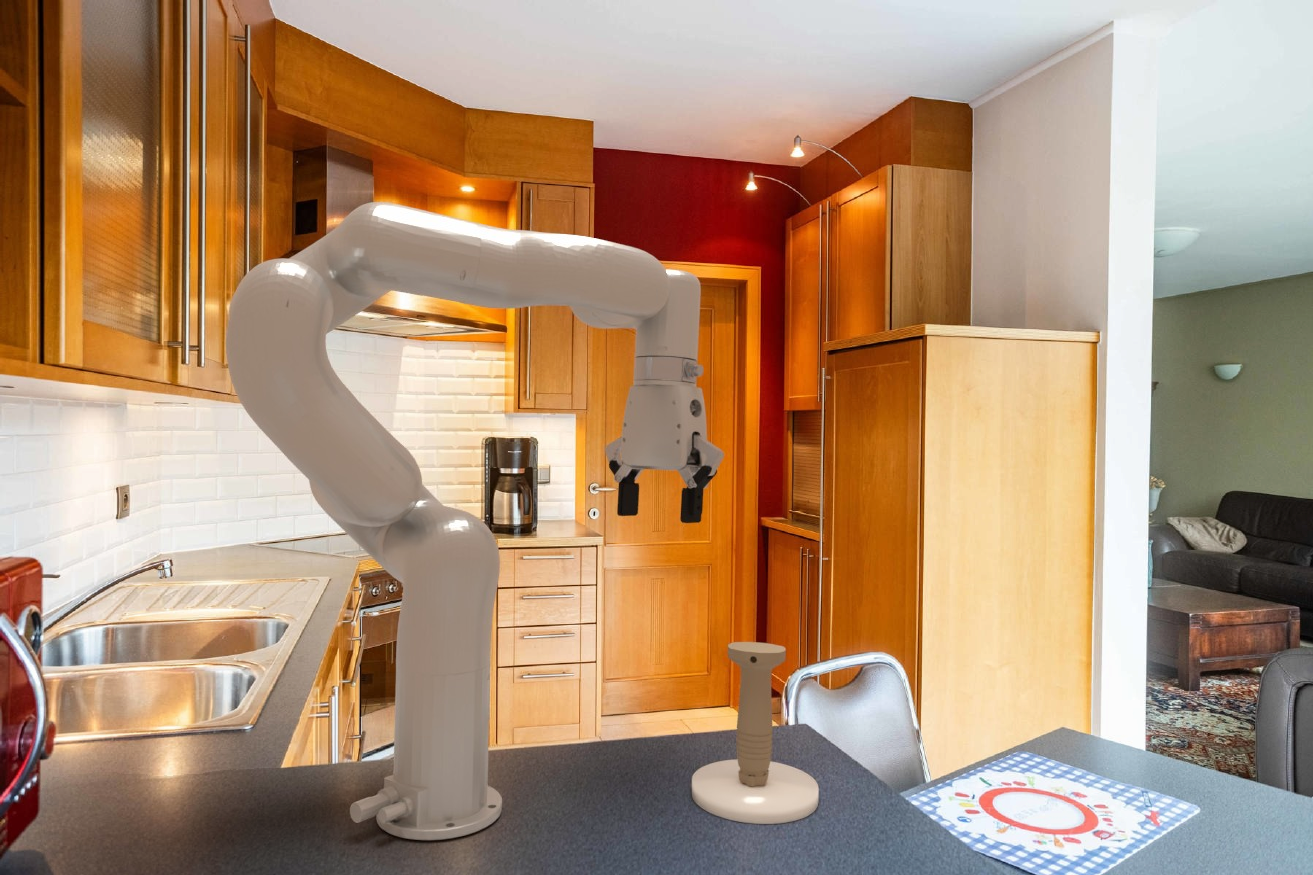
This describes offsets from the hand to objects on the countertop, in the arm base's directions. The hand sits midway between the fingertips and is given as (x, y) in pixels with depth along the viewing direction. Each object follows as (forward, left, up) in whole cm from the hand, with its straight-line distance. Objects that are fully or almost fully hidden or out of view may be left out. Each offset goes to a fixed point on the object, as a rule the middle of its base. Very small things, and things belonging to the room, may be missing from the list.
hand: (658, 518), depth 102 cm
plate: (+2, -13, -30) cm, 33 cm away
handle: (+2, -13, -29) cm, 31 cm away
